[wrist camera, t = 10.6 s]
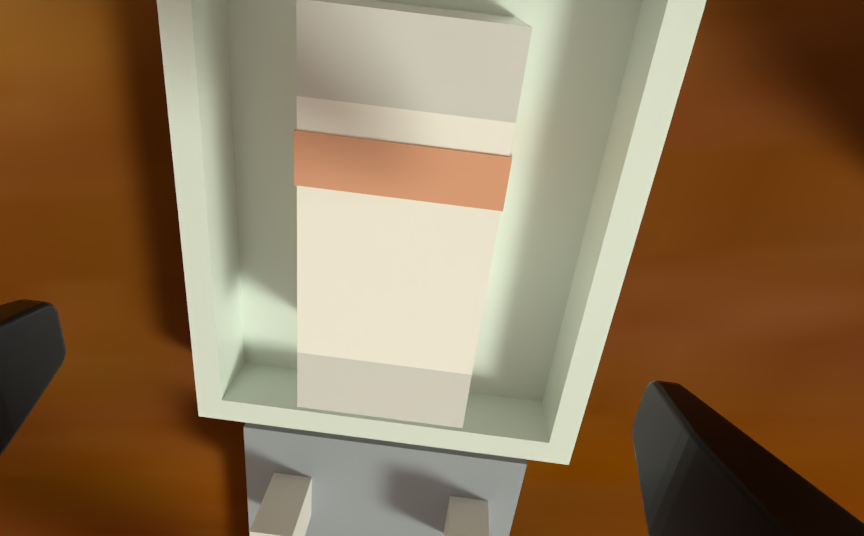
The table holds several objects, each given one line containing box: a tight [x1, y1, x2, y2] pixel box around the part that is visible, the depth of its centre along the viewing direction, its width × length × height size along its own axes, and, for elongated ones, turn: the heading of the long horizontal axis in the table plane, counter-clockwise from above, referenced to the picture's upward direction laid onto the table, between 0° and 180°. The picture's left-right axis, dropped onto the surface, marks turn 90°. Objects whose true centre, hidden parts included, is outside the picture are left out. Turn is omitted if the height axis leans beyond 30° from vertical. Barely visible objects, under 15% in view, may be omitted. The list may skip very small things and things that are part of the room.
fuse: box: [294, 0, 532, 428], centre depth 15 cm, size 10×5×4 cm, turn 174°
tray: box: [157, 0, 707, 465], centre depth 16 cm, size 16×12×2 cm
